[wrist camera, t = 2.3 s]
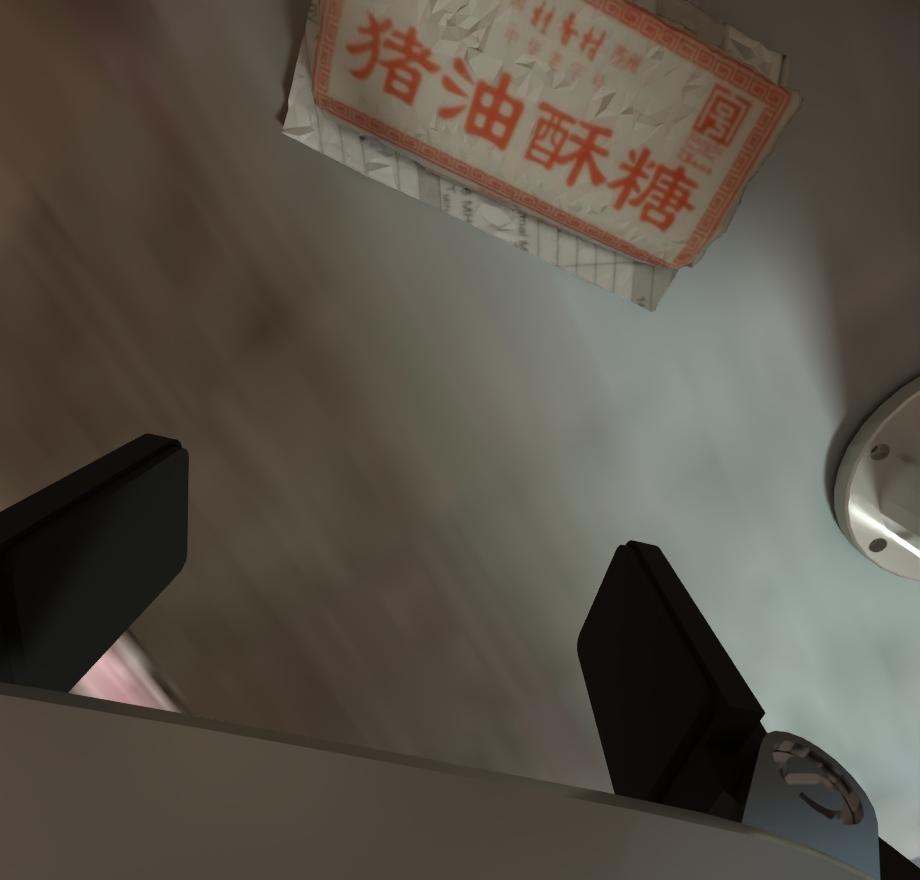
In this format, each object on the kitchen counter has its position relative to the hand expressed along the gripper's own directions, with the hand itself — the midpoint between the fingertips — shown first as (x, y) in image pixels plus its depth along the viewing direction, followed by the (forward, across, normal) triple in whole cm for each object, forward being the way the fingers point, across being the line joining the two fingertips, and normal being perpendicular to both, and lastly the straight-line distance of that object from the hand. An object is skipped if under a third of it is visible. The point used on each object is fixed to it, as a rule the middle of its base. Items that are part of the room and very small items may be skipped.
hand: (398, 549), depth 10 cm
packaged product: (+15, -1, -12) cm, 19 cm away
